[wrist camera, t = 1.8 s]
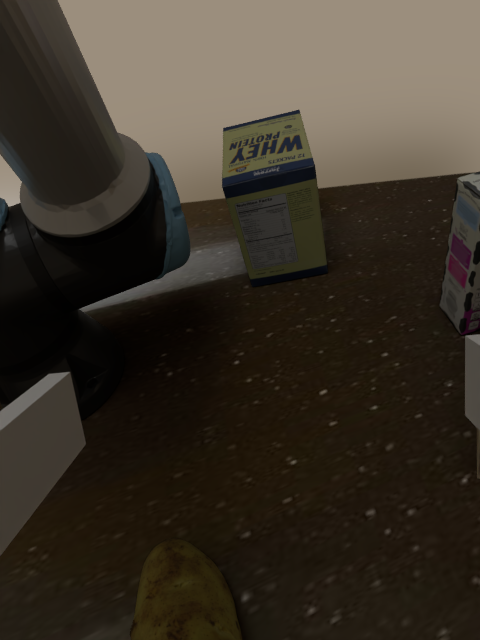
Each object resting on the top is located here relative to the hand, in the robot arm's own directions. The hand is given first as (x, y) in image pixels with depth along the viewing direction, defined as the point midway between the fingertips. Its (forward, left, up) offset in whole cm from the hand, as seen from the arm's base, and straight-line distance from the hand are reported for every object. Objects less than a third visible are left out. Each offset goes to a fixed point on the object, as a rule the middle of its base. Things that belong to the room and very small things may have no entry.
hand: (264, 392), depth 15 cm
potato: (0, -10, -28) cm, 30 cm away
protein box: (-43, +9, -28) cm, 52 cm away
